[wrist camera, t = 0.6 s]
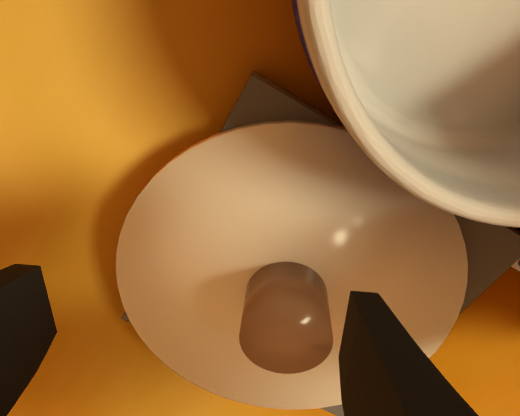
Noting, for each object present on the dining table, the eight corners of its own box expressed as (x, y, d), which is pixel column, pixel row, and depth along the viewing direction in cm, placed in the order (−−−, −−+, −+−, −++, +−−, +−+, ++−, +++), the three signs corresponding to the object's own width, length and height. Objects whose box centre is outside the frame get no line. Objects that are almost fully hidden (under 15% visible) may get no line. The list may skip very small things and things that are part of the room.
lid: (538, 267, 19) (593, 324, 15) (306, 434, 25) (308, 499, 22) (252, 29, 15) (241, 36, 12) (67, 300, 22) (26, 354, 18)
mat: (523, 233, 19) (534, 244, 18) (343, 404, 25) (345, 419, 25) (253, 71, 17) (251, 74, 16) (127, 306, 23) (121, 318, 22)
